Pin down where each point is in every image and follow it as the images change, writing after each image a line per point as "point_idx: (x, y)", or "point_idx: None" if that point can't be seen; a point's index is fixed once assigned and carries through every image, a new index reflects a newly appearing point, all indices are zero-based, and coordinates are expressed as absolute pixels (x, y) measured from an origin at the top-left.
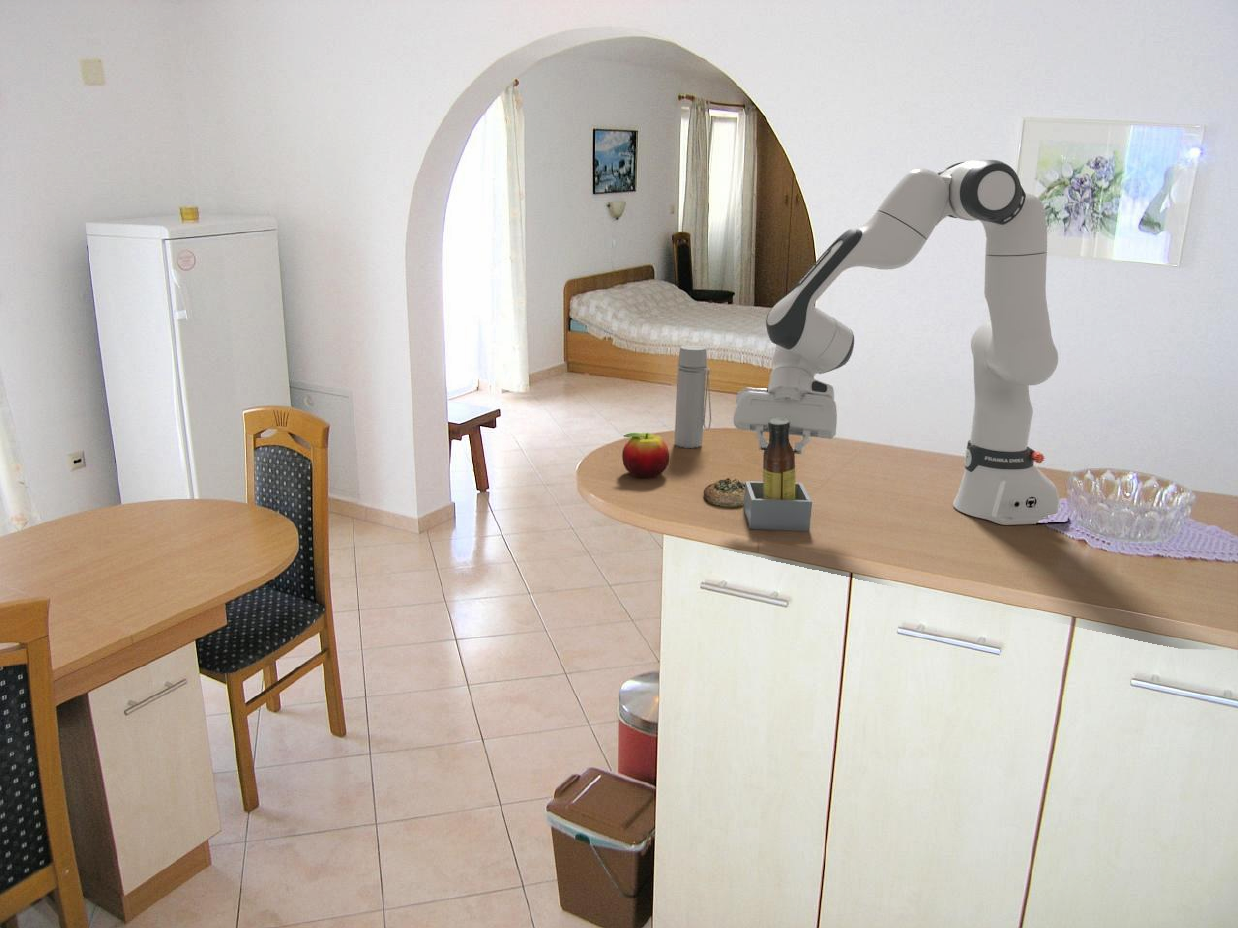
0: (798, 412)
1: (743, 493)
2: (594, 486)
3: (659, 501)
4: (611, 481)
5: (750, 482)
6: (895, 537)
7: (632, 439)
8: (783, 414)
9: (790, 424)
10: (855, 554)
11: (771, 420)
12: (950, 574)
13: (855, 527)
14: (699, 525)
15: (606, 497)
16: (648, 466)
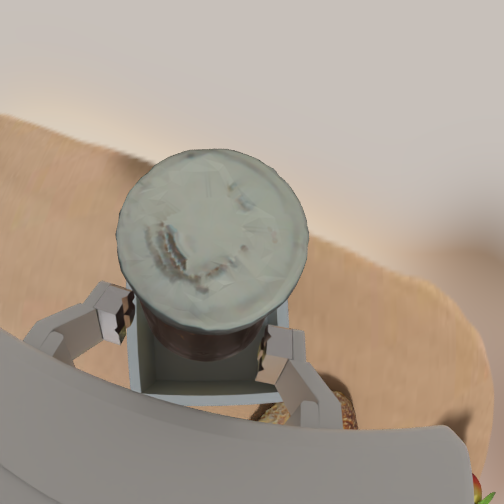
0: (30, 463)
1: (280, 423)
2: (488, 410)
3: (426, 382)
4: (470, 442)
5: (277, 392)
6: (22, 246)
7: (481, 498)
8: (149, 485)
9: (109, 391)
10: (101, 162)
11: (285, 247)
12: (25, 129)
13: (62, 290)
14: (365, 268)
15: (482, 371)
16: None
